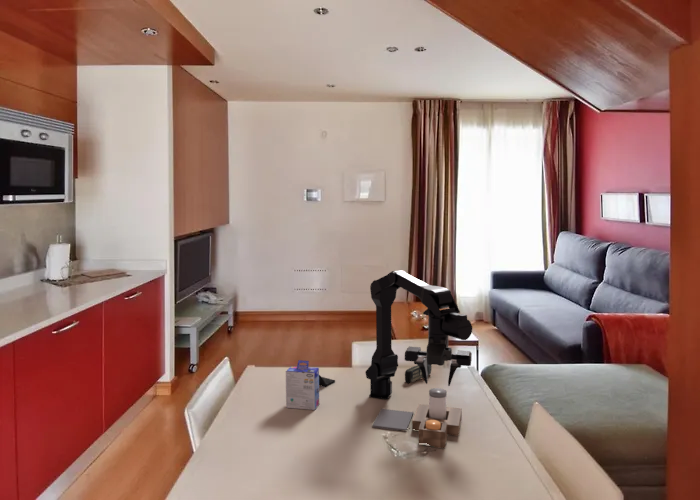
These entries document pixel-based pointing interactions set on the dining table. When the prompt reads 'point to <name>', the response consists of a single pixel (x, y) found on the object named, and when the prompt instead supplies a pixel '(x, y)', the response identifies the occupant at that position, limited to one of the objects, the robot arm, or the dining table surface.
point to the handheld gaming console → (325, 381)
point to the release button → (433, 425)
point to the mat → (393, 419)
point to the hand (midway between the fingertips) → (437, 384)
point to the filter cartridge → (437, 403)
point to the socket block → (447, 426)
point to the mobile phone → (415, 373)
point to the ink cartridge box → (302, 387)
